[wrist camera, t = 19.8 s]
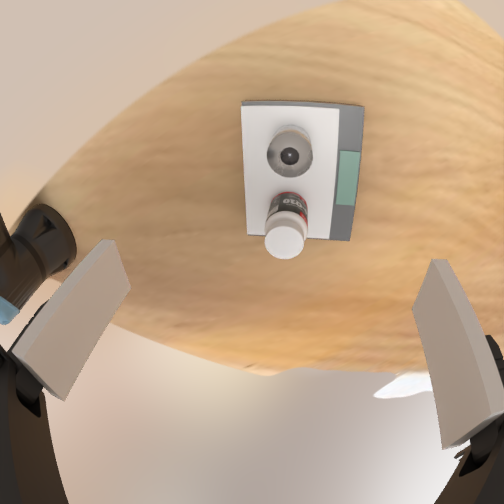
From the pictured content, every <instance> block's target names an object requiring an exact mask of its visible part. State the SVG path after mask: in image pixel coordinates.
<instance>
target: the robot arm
mask: <svg viewBox="0 0 504 504" xmlns="http://www.w3.org/2000/svg"><path fill="white" fill-rule="evenodd" d="M75 256H76V245H75V241H74V237H73V235H72V233H71V230H70V229H69V227H68V225H67V224H66V222H65V221H64V219H63V218H62V217H61V216H60V215H59V214H58V213H57V212H56V211H55V210H54V209H52V208H51V207H49V206H47V205H43V204H39V205H36V206H34V207H33V208H32V209H30V210H29V211H28V212H27V213H26V214H25V216H24V217H23V219H22V221H21V222H20V224H19V226H18V227H17V229H16V231H15V232H14V234H13V235H12V236H10V235H9V233H8V230H7V228H6V226H5V223H4V221H3V218H2V216H1V213H0V324H2V325H6V324H8V323H10V322H11V321H12V319H13V318H14V317H15V316H16V315H17V314H19V313H20V310H21V309H22V307H23V306H24V305H25V304H26V302H27V301H28V300H29V299H30V297H31V296H32V295H33V293H34V292H35V291H36V290H37V289H38V288H39V287H40V285H41V284H42V283H43V282H44V281H45V280H46V279H47V278H48V277H50V276H52V275H54V274H56V273H58V272H60V271H62V270H64V269H66V268H67V267H68V266H69V265H70V264H71V263H72V262H73V260H74V259H75ZM130 289H131V286H130V283H129V280H128V277H127V275H126V272H125V269H124V266H123V263H122V261H121V258H120V255H119V252H118V249H117V246H116V243H115V240H104V239H102V240H101V241H100V242H99V243H98V244H97V245H96V246H95V247H94V248H93V249H92V250H91V251H90V253H89V254H88V255H87V256H86V257H85V258H84V259H83V260H82V261H81V262H80V264H79V265H78V266H77V267H76V268H75V269H74V270H73V272H72V273H71V274H70V275H69V276H68V277H67V278H66V280H65V281H64V282H63V283H62V284H61V286H60V287H59V288H58V290H57V291H56V292H55V293H54V294H53V295H52V297H51V298H50V299H49V300H48V301H46V302H45V303H44V304H43V305H41V306H40V308H39V309H38V310H37V311H36V313H35V314H34V317H32V318H31V319H30V321H29V323H28V324H27V325H26V326H25V327H24V329H23V330H22V332H21V333H20V334H19V336H18V337H17V339H16V340H15V342H14V343H13V344H12V346H11V347H10V349H9V350H8V351H7V352H6V351H5V350H4V349H3V347H2V346H1V345H0V504H69V503H68V500H67V497H66V495H65V491H64V488H63V484H62V481H61V477H60V474H59V470H58V466H57V462H56V459H55V454H54V449H53V445H52V440H51V435H50V429H49V423H48V416H47V409H46V401H45V396H44V393H43V392H42V389H43V387H44V388H46V390H48V391H49V393H50V394H52V395H53V396H55V397H57V398H59V399H61V400H63V401H65V400H66V398H67V396H68V394H69V392H70V390H71V388H72V386H73V384H74V383H75V381H76V379H77V377H78V375H79V373H80V372H81V370H82V368H83V366H84V364H85V362H86V361H87V359H88V357H89V356H90V354H91V352H92V350H93V348H94V347H95V345H96V344H97V342H98V340H99V338H100V336H101V335H102V333H103V332H104V330H105V328H106V327H107V325H108V324H109V322H110V320H111V319H112V317H113V316H114V314H115V312H116V311H117V309H118V308H119V306H120V305H121V303H122V301H123V300H124V298H125V297H126V295H127V294H128V292H129V291H130ZM412 311H413V314H414V318H415V321H416V324H417V328H418V331H419V335H420V338H421V342H422V345H423V349H424V353H425V357H426V361H427V365H428V369H429V374H430V378H431V383H432V387H433V392H434V397H435V403H436V408H437V414H438V421H439V427H440V434H441V443H442V450H444V449H448V448H453V447H457V446H460V445H462V444H463V443H465V442H466V441H467V440H469V439H470V443H471V445H469V446H468V447H466V448H465V449H464V450H462V451H460V452H458V453H457V454H456V456H455V457H454V458H455V459H457V458H458V457H460V456H462V455H463V454H464V455H463V457H462V458H461V459H460V460H459V461H460V462H459V464H458V466H457V468H456V469H455V471H454V473H453V475H452V476H451V478H450V480H449V482H448V483H447V485H446V486H445V488H444V490H443V491H442V493H441V494H440V496H439V497H438V499H437V500H436V502H435V503H434V504H504V360H503V356H502V353H501V351H500V348H499V346H498V344H497V343H496V342H495V340H494V339H493V338H492V337H491V335H484V332H483V330H482V328H481V325H480V323H479V321H478V319H477V316H476V314H475V312H474V310H473V308H472V306H471V304H470V302H469V300H468V298H467V296H466V294H465V292H464V290H463V288H462V286H461V284H460V282H459V280H458V278H457V277H456V275H455V273H454V271H453V269H452V268H451V266H450V264H449V262H448V261H447V260H444V259H432V260H431V262H430V265H429V268H428V271H427V273H426V276H425V278H424V281H423V283H422V286H421V288H420V291H419V293H418V296H417V298H416V300H415V303H414V305H413V307H412Z"/></svg>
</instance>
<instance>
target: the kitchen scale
mask: <svg viewBox="0 0 504 504" xmlns="http://www.w3.org/2000/svg"><path fill="white" fill-rule="evenodd" d="M241 122H242V142H243V162H244V182H245V201H246V221H247V234H248V235H254V236H265V232H264V229H265V223H266V219H267V215H268V211H269V207H270V204H271V201H272V199H273V198H274V197H275V196H276V195H277V194H279V193H281V192H284V191H292V192H296V193H298V194H300V195H301V196H302V197H303V198H304V199H305V201H306V203H307V207H308V234H307V238H308V239H324V240H340V241H350V236H351V230H352V223H353V217H354V210H355V203H356V195H357V188H358V179H359V170H360V161H361V150H362V138H363V124H364V107H363V106H360V105H351V104H342V103H330V102H316V101H296V100H245V101H242V106H241ZM288 124H294V125H298V126H300V127H302V128H303V129H305V130H306V132H307V133H308V134H309V136H310V140H311V146H312V152H313V161H312V164H311V166H310V168H309V169H308V171H306V172H305V173H304V174H302V175H301V176H298V177H293V178H288V177H283V176H281V175H279V174H277V173H275V172H274V171H273V170H272V169H271V167H270V166H269V164H268V161H267V150H268V147H269V145H270V142H271V140H272V138H273V136H274V134H275V132H276V131H277V130H278V129H279V128H280V127H282V126H284V125H288Z"/></svg>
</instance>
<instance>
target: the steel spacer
mask: <svg viewBox="0 0 504 504" xmlns="http://www.w3.org/2000/svg"><path fill="white" fill-rule="evenodd" d="M267 161H268V164H269V166H270V167H271V169H272V170H273V171H274V172H275V173H277V174H279V175H281V176H283V177H288V178H293V177H298V176H301V175H302V174H304V173H305V172H306V171H308V169H309V168H310V166H311V164H312V161H313V152H312V146H311V140H310V136H309V134H308V133H307V132H306V130H305V129H303V128H302V127H300V126H298V125H294V124H288V125H284V126H282V127H280V128H279V129H278V130H277V131H276V132H275V134H274V136H273V138H272V140H271V142H270V145H269V147H268V150H267Z"/></svg>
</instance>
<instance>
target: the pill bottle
mask: <svg viewBox="0 0 504 504" xmlns="http://www.w3.org/2000/svg"><path fill="white" fill-rule="evenodd" d="M264 232H265V246H266V249H267V250H268V252H269V253H270V254H271V255H273V256H274V257H276V258H280V259H290V258H293V257H295V256H297V255H298V254H299V253H300V252H301V251H302V249H303V246H304V241H305V240H306V238H307V234H308V207H307V203H306V201H305V199H304V198H303V197H302V196H301V195H300V194H298V193H296V192H292V191H284V192H281V193H279V194H277V195H276V196H275V197H274V198H273V199H272V201H271V204H270V207H269V211H268V215H267V219H266V223H265V229H264Z"/></svg>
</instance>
